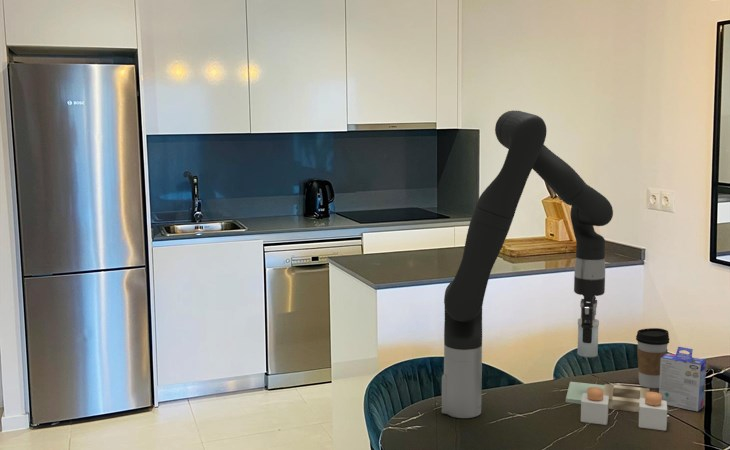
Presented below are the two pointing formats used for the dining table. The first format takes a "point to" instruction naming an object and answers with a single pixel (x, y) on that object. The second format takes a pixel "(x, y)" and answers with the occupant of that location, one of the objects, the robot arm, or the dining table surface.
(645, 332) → the coffee cup
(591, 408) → the plunger posts
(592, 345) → the canister
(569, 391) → the mat
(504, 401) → the dining table surface
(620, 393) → the collar
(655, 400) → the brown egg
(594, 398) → the plunger left
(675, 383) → the ink cartridge box
